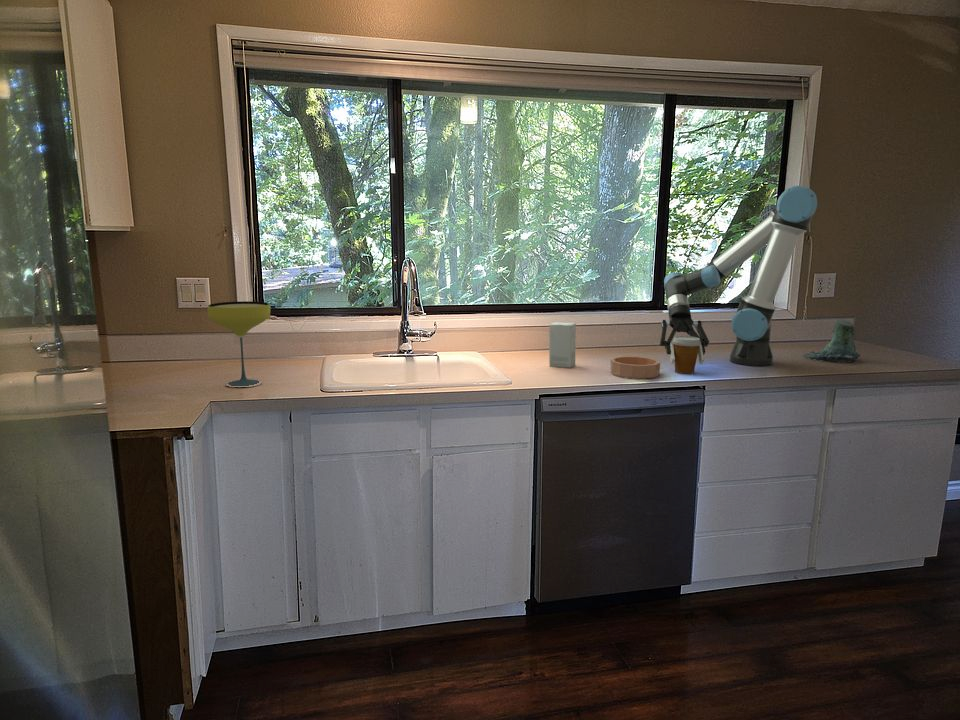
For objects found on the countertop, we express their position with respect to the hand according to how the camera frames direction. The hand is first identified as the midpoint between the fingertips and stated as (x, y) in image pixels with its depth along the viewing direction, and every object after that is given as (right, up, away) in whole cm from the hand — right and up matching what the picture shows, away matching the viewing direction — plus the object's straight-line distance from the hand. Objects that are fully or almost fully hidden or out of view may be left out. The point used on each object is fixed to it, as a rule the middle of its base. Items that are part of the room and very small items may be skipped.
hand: (687, 361), depth 229 cm
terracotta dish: (-18, -4, +1) cm, 19 cm away
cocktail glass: (-145, -7, -20) cm, 147 cm away
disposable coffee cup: (0, -4, +4) cm, 6 cm away
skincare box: (-42, -2, +12) cm, 43 cm away
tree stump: (+66, +1, +31) cm, 73 cm away
